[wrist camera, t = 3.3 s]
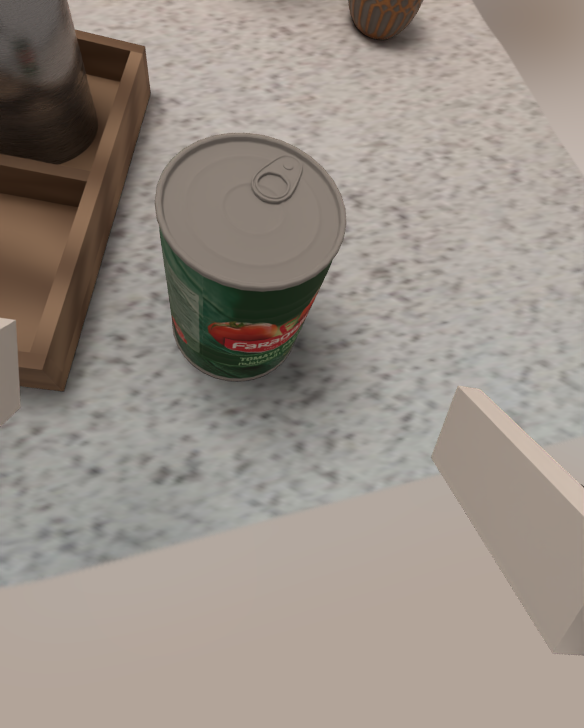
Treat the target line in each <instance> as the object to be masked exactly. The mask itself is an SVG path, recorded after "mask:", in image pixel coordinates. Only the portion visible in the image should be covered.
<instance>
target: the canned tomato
mask: <svg viewBox="0 0 584 728" xmlns="http://www.w3.org/2000/svg"><path fill="white" fill-rule="evenodd" d="M155 209H156V216H157V221H158V224H159V228H160V238H161V246H162V252H163V259H164V267H165V273H166V280H167V287H168V294H169V301H170V309H171V315H172V326H173V333H174V337H175V340H176V342H177V345H178V347H179V349H180V350H181V352H182V353H183V355H184V357H185V358H186V359H187V360H188V361H189V362H190V363H191V364H192V365H193V366H195V367H196V368H197V369H199V370H200V371H202V372H203V373H205V374H208V375H210V376H212V377H214V378H218V379H223V380H227V381H246V380H253V379H256V378H259V377H262V376H264V375H266V374H268V373H270V372H271V371H273V370H275V369H276V368H277V367H278V366H279V365H280V364H281V363H282V362H283V361H284V360H285V359H286V357H287V356H288V355H289V353H290V352H291V349H292V347H293V345H294V342H295V340H296V338H297V336H298V333H299V331H300V329H301V327H302V325H303V323H304V321H305V319H306V317H307V314H308V312H309V310H310V308H311V306H312V304H313V302H314V300H315V297H316V295H317V294H318V291H319V289H320V287H321V285H322V283H323V281H324V278H325V276H326V274H327V272H328V270H329V268H330V265H331V263H332V260H333V258H334V257H335V256H336V254H337V253H338V251H339V248H340V246H341V244H342V242H343V239H344V234H345V228H346V212H345V206H344V203H343V199H342V196H341V193H340V192H339V190H338V188H337V186H336V184H335V182H334V180H333V179H332V178H331V177H330V175H329V174H328V173H327V172H326V170H325V169H324V168H323V167H322V166H321V165H320V164H319V163H317V162H316V161H315V160H314V159H313V158H312V157H311V156H309V155H308V154H306V153H305V152H303V151H301V150H300V149H298V148H297V147H295V146H292V145H290V144H288V143H286V142H284V141H282V140H278V139H275V138H271V137H268V136H265V135H258V134H251V133H227V134H221V135H214V136H211V137H208V138H205V139H202V140H199V141H197V142H195V143H193V144H191V145H190V146H188V147H186V148H184V149H183V150H182V151H180V152H179V153H178V154H177V155H176V156H175V157H173V158H172V159H171V161H170V162H169V163H168V165H167V166H166V167H165V169H164V170H163V172H162V174H161V177H160V179H159V182H158V184H157V188H156V196H155Z"/></svg>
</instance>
